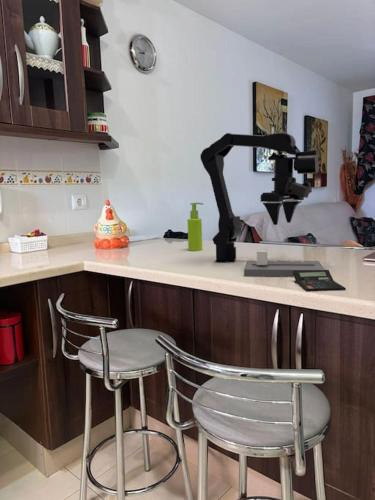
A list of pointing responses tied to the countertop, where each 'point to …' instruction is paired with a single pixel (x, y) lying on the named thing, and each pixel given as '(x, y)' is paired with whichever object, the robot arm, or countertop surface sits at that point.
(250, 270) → the gray slotted panel
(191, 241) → the soap dispenser
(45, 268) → the countertop surface
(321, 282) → the calculator
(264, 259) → the fader
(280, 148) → the robot arm
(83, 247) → the countertop surface
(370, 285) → the countertop surface
